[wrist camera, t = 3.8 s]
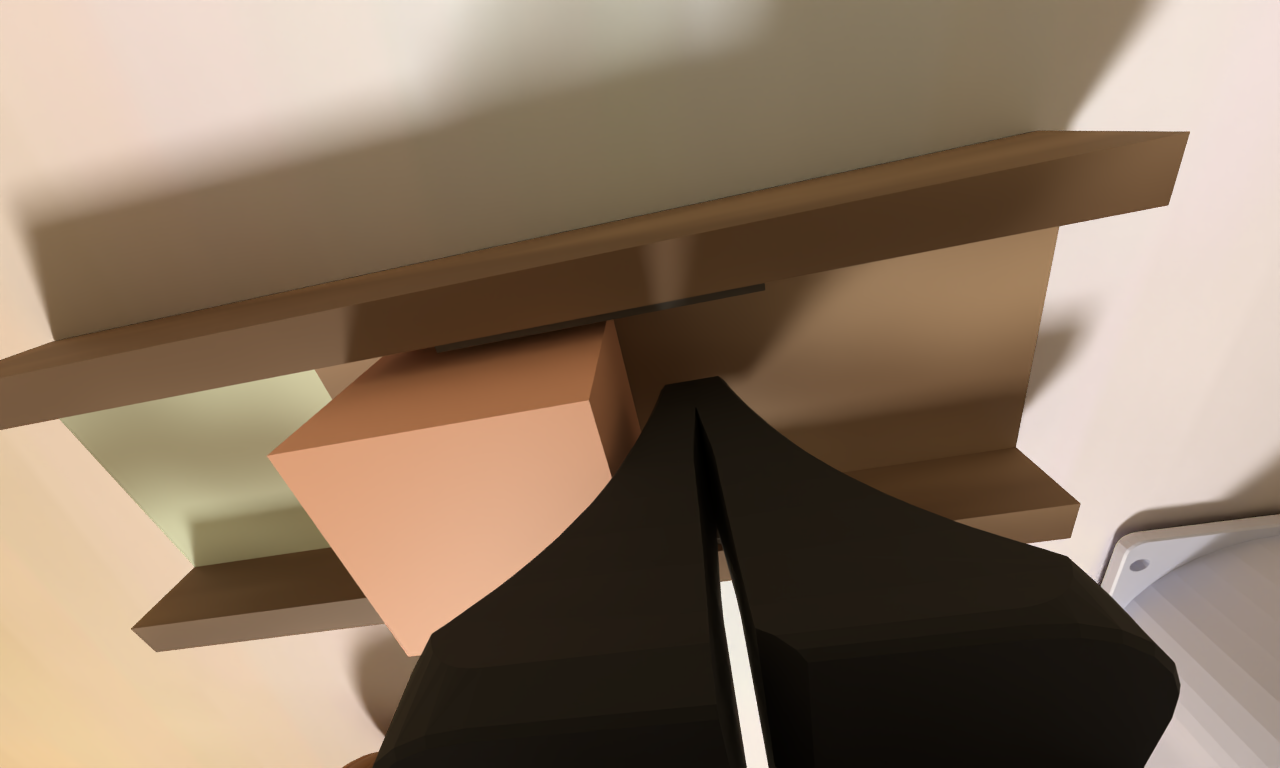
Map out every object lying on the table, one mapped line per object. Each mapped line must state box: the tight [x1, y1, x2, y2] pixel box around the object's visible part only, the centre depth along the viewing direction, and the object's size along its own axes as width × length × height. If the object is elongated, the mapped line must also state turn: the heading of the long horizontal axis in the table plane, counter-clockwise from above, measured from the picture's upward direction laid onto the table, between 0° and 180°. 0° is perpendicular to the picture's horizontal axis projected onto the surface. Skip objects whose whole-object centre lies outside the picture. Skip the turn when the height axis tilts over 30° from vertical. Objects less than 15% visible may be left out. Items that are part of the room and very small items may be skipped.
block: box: [267, 320, 641, 657], centre depth 10 cm, size 5×5×4 cm
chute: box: [0, 131, 1190, 652], centre depth 11 cm, size 8×23×3 cm, turn 102°
